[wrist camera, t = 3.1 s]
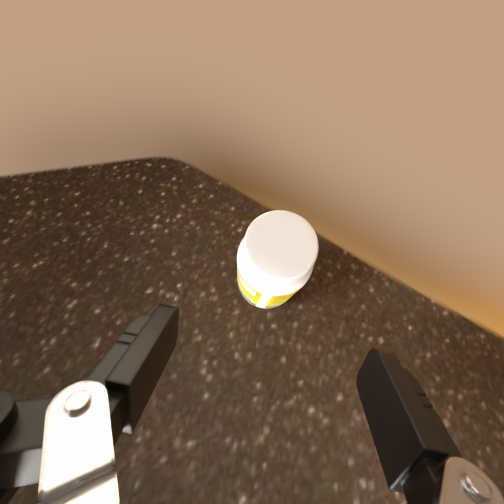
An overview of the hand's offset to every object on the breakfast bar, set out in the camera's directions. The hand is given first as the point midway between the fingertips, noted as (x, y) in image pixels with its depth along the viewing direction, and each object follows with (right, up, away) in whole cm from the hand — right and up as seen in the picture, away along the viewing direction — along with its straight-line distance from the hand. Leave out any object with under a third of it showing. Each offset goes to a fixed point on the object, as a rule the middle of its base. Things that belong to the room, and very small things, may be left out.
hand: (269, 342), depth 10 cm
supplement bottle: (0, +1, +11) cm, 11 cm away
